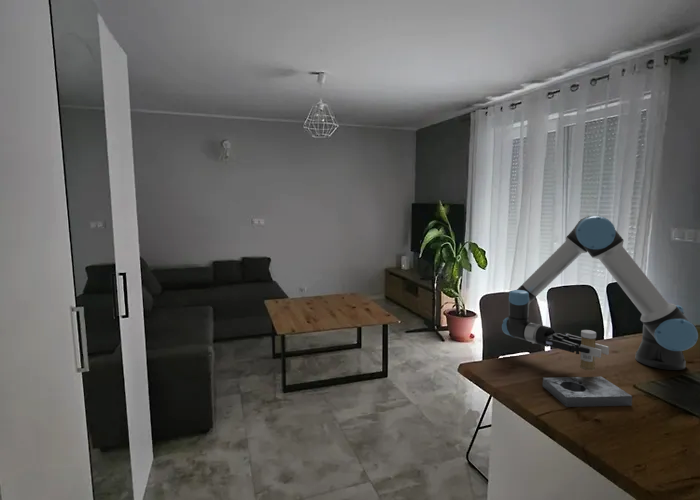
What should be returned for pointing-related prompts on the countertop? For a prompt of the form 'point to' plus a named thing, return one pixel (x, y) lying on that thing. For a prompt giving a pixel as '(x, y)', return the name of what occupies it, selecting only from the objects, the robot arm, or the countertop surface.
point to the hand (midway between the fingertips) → (604, 352)
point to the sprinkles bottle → (589, 340)
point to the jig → (586, 391)
